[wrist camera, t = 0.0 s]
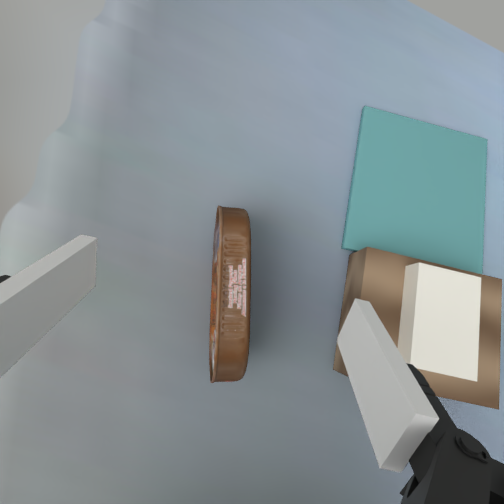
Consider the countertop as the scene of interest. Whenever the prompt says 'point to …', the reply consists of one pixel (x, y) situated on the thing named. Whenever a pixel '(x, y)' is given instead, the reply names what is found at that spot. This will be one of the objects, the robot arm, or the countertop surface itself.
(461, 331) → the white rectangular block
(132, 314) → the countertop surface
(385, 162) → the mat
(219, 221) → the tin
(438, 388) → the brown wooden block
